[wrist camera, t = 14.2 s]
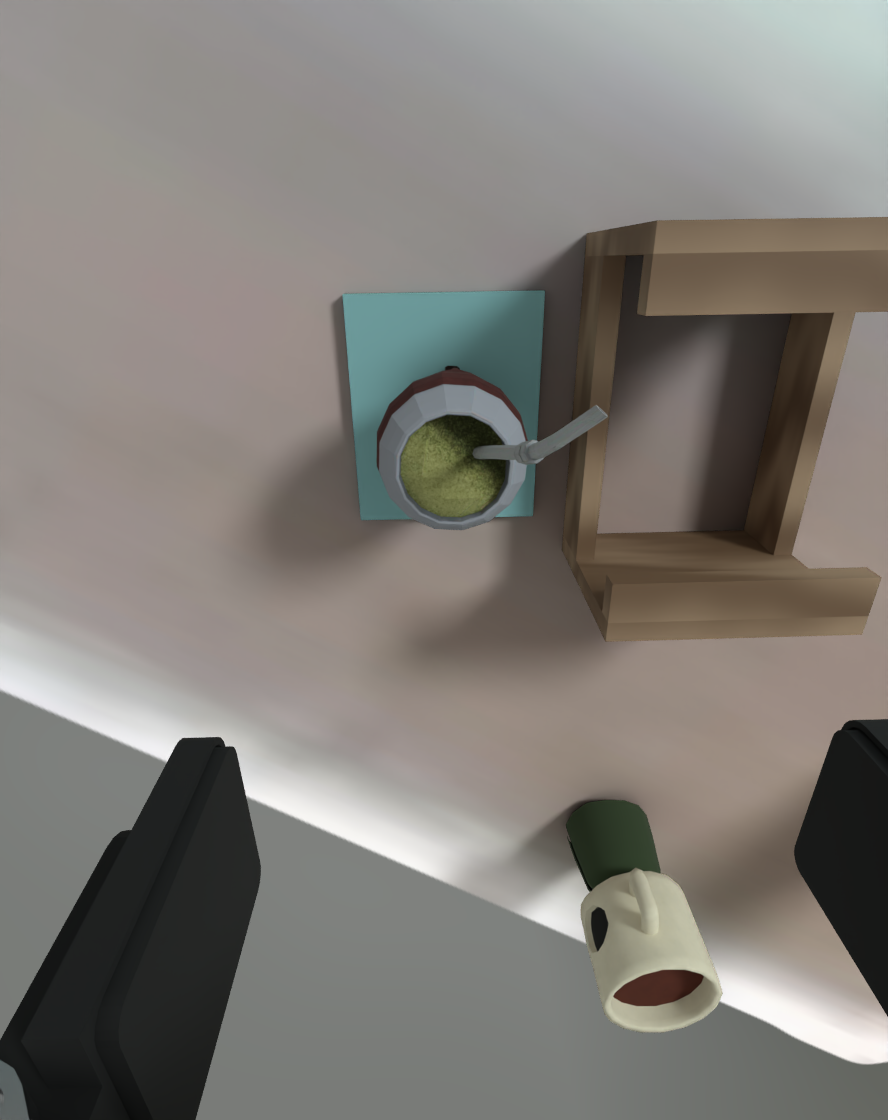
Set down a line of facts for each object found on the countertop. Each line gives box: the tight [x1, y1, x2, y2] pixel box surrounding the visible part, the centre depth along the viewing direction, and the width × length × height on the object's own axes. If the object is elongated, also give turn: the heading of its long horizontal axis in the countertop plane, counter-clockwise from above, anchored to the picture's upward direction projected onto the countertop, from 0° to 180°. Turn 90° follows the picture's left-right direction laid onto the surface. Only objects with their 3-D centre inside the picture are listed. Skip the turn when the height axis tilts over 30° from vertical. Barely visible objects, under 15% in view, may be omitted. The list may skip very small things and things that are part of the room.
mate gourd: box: [376, 366, 608, 530], centre depth 26 cm, size 8×8×15 cm
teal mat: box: [343, 290, 545, 520], centre depth 33 cm, size 12×10×1 cm
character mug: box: [566, 800, 723, 1033], centre depth 42 cm, size 11×7×13 cm, turn 9°
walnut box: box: [562, 217, 888, 642], centre depth 29 cm, size 17×12×10 cm
